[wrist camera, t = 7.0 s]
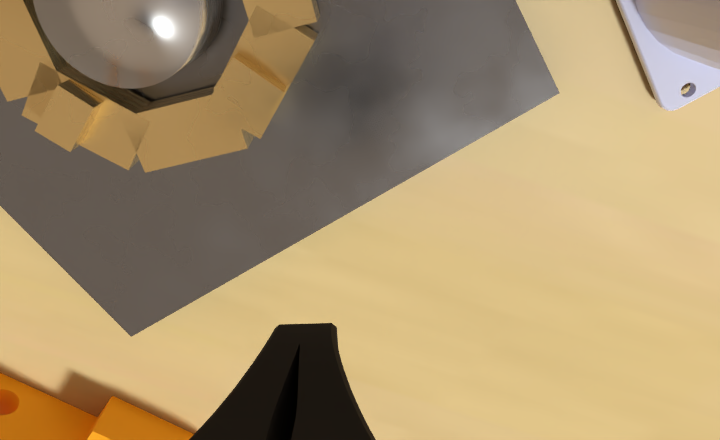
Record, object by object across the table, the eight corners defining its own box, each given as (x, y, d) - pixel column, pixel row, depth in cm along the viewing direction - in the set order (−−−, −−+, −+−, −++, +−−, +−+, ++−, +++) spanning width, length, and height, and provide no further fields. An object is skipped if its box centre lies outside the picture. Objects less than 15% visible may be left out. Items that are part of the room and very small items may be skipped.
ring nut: (345, 113, 20) (339, 173, 15) (75, 177, 21) (-19, 255, 16) (249, -258, 15) (192, -358, 10) (-89, -150, 17) (-295, -192, 11)
